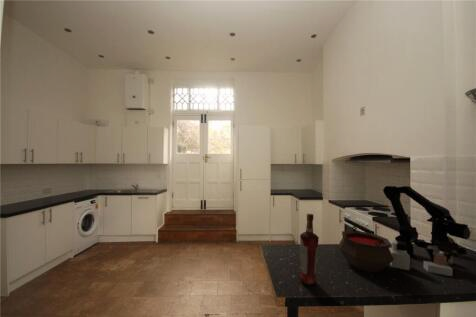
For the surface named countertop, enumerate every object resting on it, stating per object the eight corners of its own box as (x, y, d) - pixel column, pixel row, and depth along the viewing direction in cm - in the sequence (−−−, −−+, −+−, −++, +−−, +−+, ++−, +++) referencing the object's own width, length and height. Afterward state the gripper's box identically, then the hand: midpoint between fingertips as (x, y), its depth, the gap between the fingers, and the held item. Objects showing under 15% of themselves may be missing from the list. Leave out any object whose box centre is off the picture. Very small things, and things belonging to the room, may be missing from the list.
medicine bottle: (405, 264, 106) (405, 240, 106) (409, 270, 99) (410, 245, 100) (388, 261, 109) (388, 238, 109) (391, 267, 102) (392, 242, 103)
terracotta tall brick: (434, 267, 104) (435, 255, 105) (430, 263, 109) (431, 251, 109) (446, 269, 103) (446, 257, 103) (441, 265, 107) (442, 253, 107)
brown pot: (407, 280, 91) (408, 243, 91) (350, 276, 92) (352, 239, 92) (374, 255, 115) (375, 226, 115) (329, 252, 116) (331, 223, 116)
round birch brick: (442, 263, 109) (442, 253, 109) (437, 259, 114) (437, 250, 114) (454, 265, 107) (455, 255, 107) (449, 261, 112) (449, 252, 112)
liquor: (296, 276, 90) (298, 211, 91) (312, 276, 90) (315, 212, 91) (302, 286, 83) (304, 216, 83) (320, 287, 83) (322, 217, 84)
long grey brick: (427, 272, 99) (428, 264, 99) (423, 267, 104) (423, 260, 104) (452, 276, 96) (452, 269, 96) (446, 272, 100) (447, 264, 100)
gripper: (422, 233, 102) (421, 265, 102) (474, 241, 95) (473, 275, 94) (414, 227, 112) (413, 256, 112) (460, 233, 105) (459, 264, 105)
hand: (438, 263), depth 106 cm, fingers closed on terracotta tall brick, 4 cm apart
